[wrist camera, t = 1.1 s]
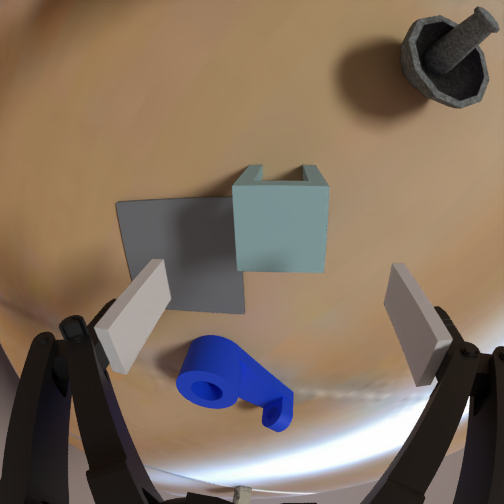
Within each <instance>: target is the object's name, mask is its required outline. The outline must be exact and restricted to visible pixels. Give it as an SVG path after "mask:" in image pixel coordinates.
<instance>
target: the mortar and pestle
mask: <svg viewBox="0 0 504 504" xmlns="http://www.w3.org/2000/svg"><path fill="white" fill-rule="evenodd" d="M499 30H500V29H499V26H498V23H497V22H496V20H495V19H494V17H493V16H492V15H491V14H490V13H489V12H488V11H486V10H485V9H484V8H482V7H476V8H475V9H474V14H473V15H471V16H470V17H468V18H467V19H466V20H464V21H463V22H462V23H460V24H457V23H455V22H453V21H451V20H449V19H447V18H445V17H443V16H441V15H439V16H433V17H428V18H423V19H418V20H417V21H415V22H414V23H413V24H412V25H411V27H410V28H409V30H408V32H407V34H406V36H405V38H404V40H403V42H402V45H401V47H400V49H401V54H402V56H401V58H400V61H401V66H402V70H403V75H404V76H405V77H406V78H407V80H408V81H409V82H410V83H411V84H412V86H413V87H414V88H416V89H418V90H420V92H421V93H422V94H423V96H424V97H427V98H429V99H432V100H434V101H437V102H439V103H441V104H444V105H446V106H449V107H452V108H464V107H466V106H469V105H472V104H475V103H478V102H480V101H481V100H482V98H483V95H484V93H485V90H486V87H487V85H488V82H489V76H488V71H487V66H486V61H485V57H484V53H483V51H482V50H481V48H480V47H479V44H480V43H481V42H482V41H483V40H484V39H485V38H486V37H488V36H489V35H490V34H491V33H497V32H498V31H499Z"/></svg>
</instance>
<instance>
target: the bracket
mask: <svg viewBox="0 0 504 504" xmlns="http://www.w3.org/2000/svg"><path fill="white" fill-rule="evenodd" d="M176 386H177V389H178V391H179V392H180V393H181V394H182V395H183V396H184V397H185V398H186V399H187V400H189V401H191V402H192V403H195V404H197V405H199V406H203V407H207V408H214V409H220V408H226V407H229V406H231V405H233V404H234V403H235V402H236V401H237V399H238V397H239V398H241V399H243V400H246V401H248V402H250V403H253V404H255V405H257V406H260V407H262V408H263V415H262V424H263V425H264V426H265V427H267V428H269V429H272V430H274V431H276V432H281V431H283V430H285V429H286V428H287V427H288V426H289V425H290V423H291V421H292V418H293V392H292V391H291V390H290V389H289V388H287V387H286V386H285V385H284V384H283V383H281V382H280V381H279V380H278V379H276V378H275V377H274V376H273V375H272V374H270V373H269V372H268V371H267V370H266V369H265V368H263V367H262V366H261V365H260V364H259V363H257V362H256V361H255V360H254V359H253V358H252V357H251V356H249V355H248V354H247V353H246V352H245V351H244V350H243V349H241V348H240V347H239V346H238V345H237V344H236V343H234V342H233V341H231V340H229V339H227V338H224V337H220V336H215V335H206V336H201V337H199V338H197V339H195V340H194V341H193V342H192V343H191V345H190V348H189V350H188V353H187V355H186V358H185V360H184V363H183V365H182V368H181V370H180V373H179V375H178V378H177V380H176Z"/></svg>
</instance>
